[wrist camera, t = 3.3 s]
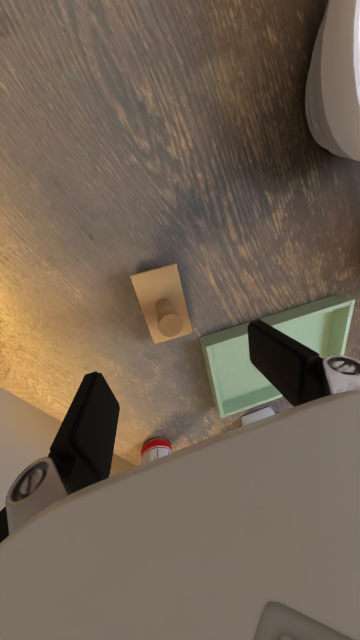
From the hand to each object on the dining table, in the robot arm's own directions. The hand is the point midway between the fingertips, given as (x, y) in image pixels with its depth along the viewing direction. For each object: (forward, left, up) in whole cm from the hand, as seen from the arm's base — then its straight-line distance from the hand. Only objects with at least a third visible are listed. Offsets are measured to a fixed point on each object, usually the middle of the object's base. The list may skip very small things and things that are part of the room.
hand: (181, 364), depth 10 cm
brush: (0, 0, -15) cm, 15 cm away
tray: (-17, +16, -15) cm, 28 cm away
